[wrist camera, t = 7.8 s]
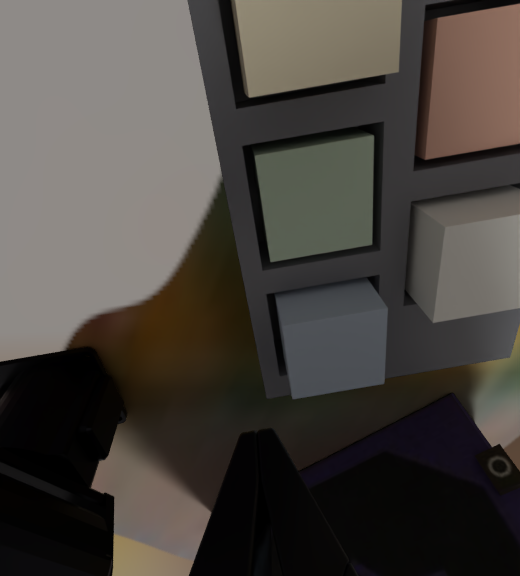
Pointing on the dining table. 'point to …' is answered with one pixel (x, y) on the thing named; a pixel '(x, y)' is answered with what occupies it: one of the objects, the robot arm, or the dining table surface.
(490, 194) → the light grey key
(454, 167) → the keypad console
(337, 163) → the key sage
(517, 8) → the key terracotta
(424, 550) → the book
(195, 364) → the dining table surface
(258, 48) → the key sand
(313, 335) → the key slate
